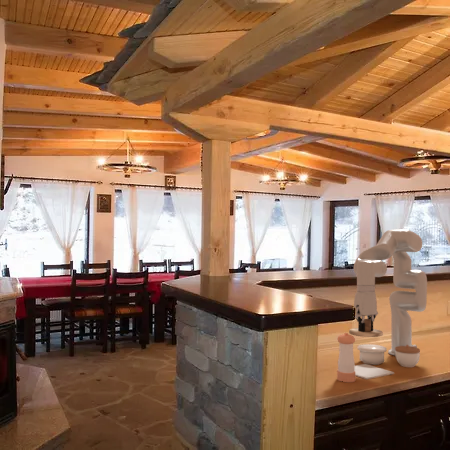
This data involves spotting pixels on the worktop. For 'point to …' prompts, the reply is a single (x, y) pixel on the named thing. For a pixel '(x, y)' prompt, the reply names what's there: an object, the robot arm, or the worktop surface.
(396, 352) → the lidded jar
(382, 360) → the mushroom
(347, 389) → the worktop surface
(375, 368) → the mat
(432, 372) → the worktop surface
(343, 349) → the pepper shaker
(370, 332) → the lid
